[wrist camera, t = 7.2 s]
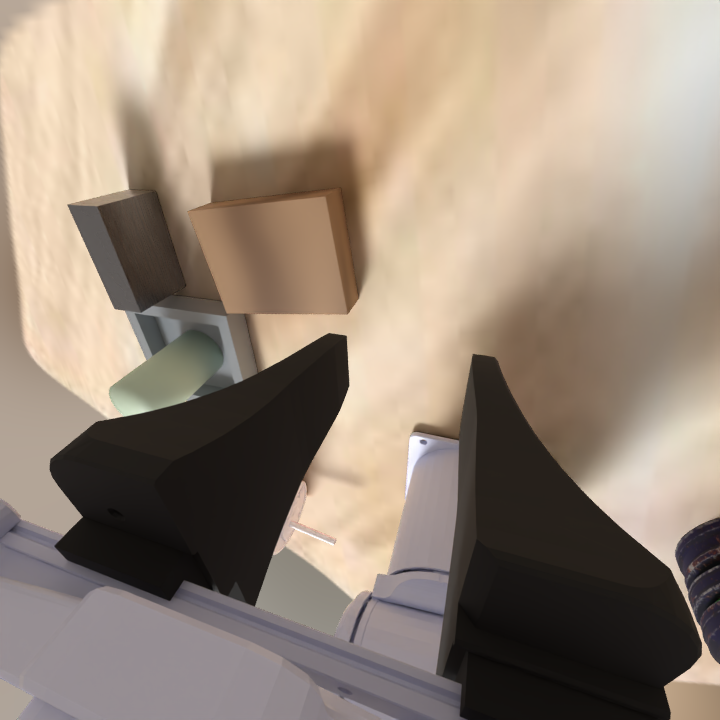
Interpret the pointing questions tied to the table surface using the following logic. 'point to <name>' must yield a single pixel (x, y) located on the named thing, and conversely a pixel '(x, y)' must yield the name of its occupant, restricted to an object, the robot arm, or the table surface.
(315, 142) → the table surface
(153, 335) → the slate tray
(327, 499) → the table surface
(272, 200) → the tan rectangular block
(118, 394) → the sage dowel
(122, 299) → the post
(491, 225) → the table surface
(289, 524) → the smoothie
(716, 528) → the storage jar
